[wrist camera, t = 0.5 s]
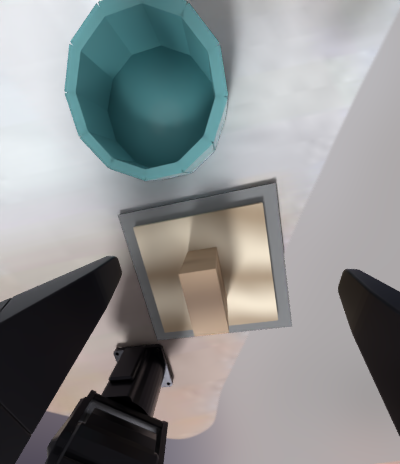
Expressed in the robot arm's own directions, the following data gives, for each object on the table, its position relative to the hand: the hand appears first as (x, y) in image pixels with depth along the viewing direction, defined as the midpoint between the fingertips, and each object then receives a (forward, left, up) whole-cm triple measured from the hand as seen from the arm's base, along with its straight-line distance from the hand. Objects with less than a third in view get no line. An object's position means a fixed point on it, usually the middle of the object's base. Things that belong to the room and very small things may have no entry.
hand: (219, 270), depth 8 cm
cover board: (-6, +2, -12) cm, 14 cm away
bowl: (+10, +3, -13) cm, 17 cm away
